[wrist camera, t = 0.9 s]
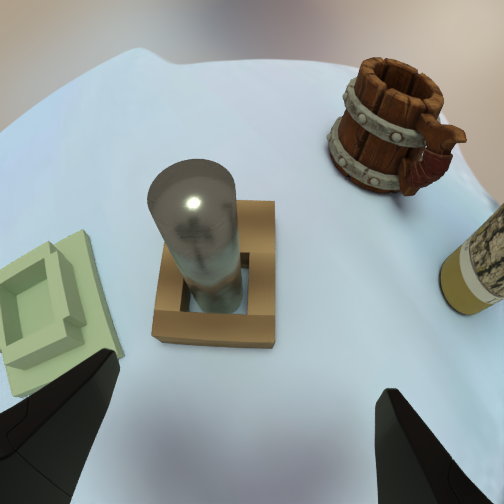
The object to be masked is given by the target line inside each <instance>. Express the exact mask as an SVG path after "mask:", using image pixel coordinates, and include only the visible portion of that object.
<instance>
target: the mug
mask: <svg viewBox="0 0 504 504" xmlns="http://www.w3.org/2000/svg"><path fill="white" fill-rule="evenodd" d="M343 100H344V103H345V107H346V110H345V112H344V115H343V116H342V117H338V119H337V120H336V122H335V123H334V125H333V127H332V129H331V132H330V134H328V135H327V139H328V141H329V149H330V151H331V157H332V159H333V161H334V163H335V165H336V167H337V168H338V169H339V170H340V171H341V172H342V173H343V175H344V176H345V177H347V176H350V181H352V182H354V183H355V184H357V185H358V186H360V187H362V188H365V189H368V190H371V191H374V192H377V193H390V191H391V190H392V192H393V193H395V192H398V191H400V192H401V193H402V194H403V195H404V196H413V195H415V194H416V192H417V191H418V190H419V189H420V188H423V187H427V186H428V185H430V184H432V183H433V182H435V181H437V180H439V179H440V177H442V176H443V175H444V174H445V172H447V170H448V168H449V165H450V163H451V160H452V157H453V155H452V154H451V150H452V149H453V147H454V146H455V144H456V143H466V141H467V139H466V135H465V132H464V131H463V130H462V129H460V128H457V127H455V126H453V125H444V124H443V125H442V124H441V123H440V118H439V114H440V111H441V109H442V107H443V104H444V98H443V95H442V93H441V91H440V89H439V87H438V86H437V85H436V84H435V83H434V82H433V81H432V80H431V79H430V78H429V77H428V76H426V75H425V74H423V73H421V74H418V70H417V69H415V68H413V67H411V66H409V65H408V64H405V63H402V62H400V61H397V60H393V59H388V58H385V59H384V60H383V59H382V58H380V57H373V58H370V59H367V60H364V61H363V62H362V64H361V67H360V70H359V73H358V76H357V77H356V78H354V79H351V80H350V83H349V84H348V86H347V88H346V91H345V93H344V94H343ZM425 146H427V147H426V148H425ZM423 151H424V152H423ZM422 153H423V156H422Z"/></svg>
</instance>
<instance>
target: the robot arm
mask: <svg viewBox="0 0 504 504" xmlns="http://www.w3.org/2000/svg"><path fill="white" fill-rule="evenodd" d="M119 372H120V365H119V361H118V358H117V355H116V352H115V351H114V350H112V349H108V348H102V349H101V350H99V351H98V352H96V353H95V354H93V355H91V356H90V357H88V358H87V359H85V360H84V361H82V362H81V363H79V364H78V365H76V366H75V367H73V368H71V369H70V370H68V371H67V372H65V373H64V374H62V375H61V376H59V377H58V378H56V379H55V380H53V381H52V382H50V383H48V384H47V385H45V386H44V387H42V388H41V389H39V390H38V391H36V392H35V393H33V394H32V395H30V396H29V397H27V398H25V399H24V400H22V401H21V402H19V403H17V404H16V405H14V406H13V407H11V408H9V409H7V410H5V411H4V412H2V413H0V504H70V502H71V499H72V496H73V493H74V491H75V488H76V485H77V483H78V480H79V477H80V475H81V472H82V470H83V467H84V465H85V462H86V460H87V457H88V455H89V452H90V450H91V447H92V445H93V442H94V440H95V438H96V435H97V433H98V430H99V428H100V426H101V423H102V421H103V419H104V416H105V414H106V412H107V409H108V407H109V404H110V401H111V397H112V394H113V391H114V388H115V384H116V381H117V378H118V375H119ZM375 457H376V471H377V488H378V504H493V503H492V502H491V501H490V500H489V499H488V498H487V497H486V496H485V495H484V494H483V493H482V492H481V491H480V490H479V489H478V487H477V486H476V485H475V484H474V483H473V482H472V481H471V480H470V479H469V478H468V477H467V476H466V475H465V473H464V472H463V471H462V470H461V468H460V467H459V466H458V465H457V463H456V462H455V461H454V459H452V457H451V456H450V454H449V453H448V452H447V450H446V449H445V448H444V447H443V445H442V444H441V443H440V442H439V440H438V439H437V438H436V436H435V435H434V434H433V433H432V431H431V430H430V429H429V428H428V426H427V425H426V424H425V422H424V421H423V420H422V419H421V417H420V416H419V415H418V414H417V412H416V411H415V410H414V409H413V407H412V406H411V405H410V404H409V402H408V401H407V400H406V399H405V398H404V396H403V395H402V394H401V393H400V391H399V390H398V389H396V388H386V389H385V390H384V391H383V393H382V394H381V396H380V397H379V399H378V401H377V402H376V406H375Z"/></svg>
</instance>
